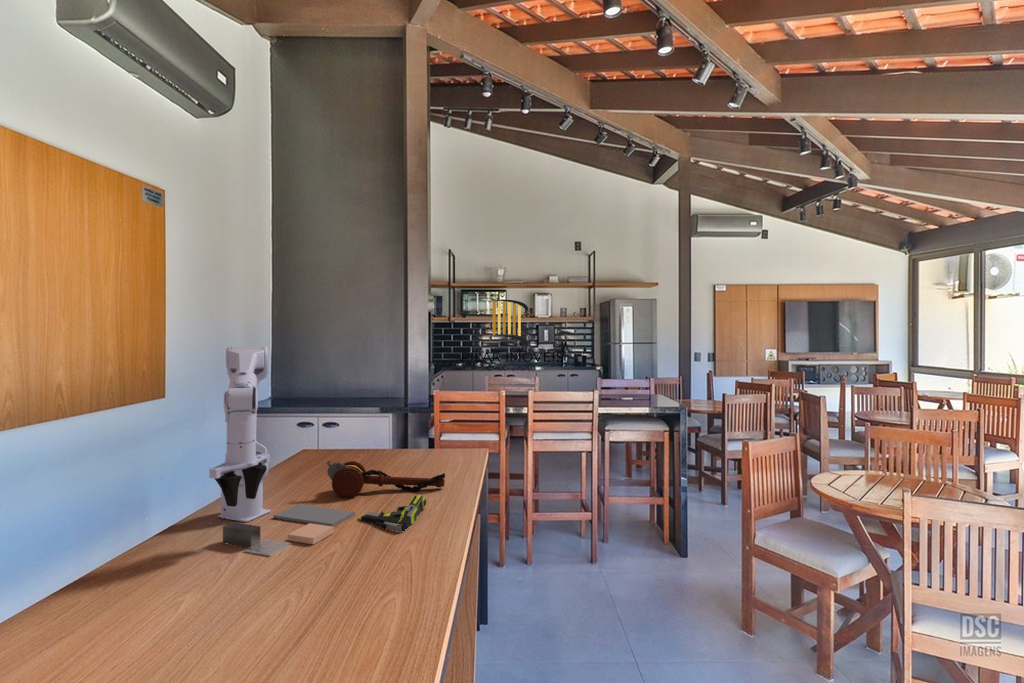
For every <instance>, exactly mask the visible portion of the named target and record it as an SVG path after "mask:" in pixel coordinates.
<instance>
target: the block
mask: <svg viewBox="0 0 1024 683" xmlns="http://www.w3.org/2000/svg"><path fill="white" fill-rule="evenodd" d="M334 533H335V526H334V527H332V526H325V525H318V524H311V523H309V524H307V523H306V524H305V525H303V526H301V527H300V528H297V529H295V530H294V531H291V532H290V533H288V534H287V541H288V542H289V541H290V542H294V543H295V542H296V543H302V544H308V545H315V544H317V543H318V542H320V541H322V540H324V539H325V538H327V537H330V536H331V535H333V534H334Z"/></svg>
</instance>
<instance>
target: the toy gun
mask: <svg viewBox="0 0 1024 683" xmlns="http://www.w3.org/2000/svg"><path fill="white" fill-rule="evenodd" d="M426 498H427V497H426V496H423V495H420V494H418V495H413V496H412V498H411V499H410V501H409V502H408V504H407V505H405V506H398V507H396V510H395V511H391V512H384V511H381V512H380V513H378V512H375V511H374V512H372V511H368V512H366V513H364V514H360V515H359V516H358V520H360V521H362V522H367V523H371V524H374V525H376V526H381V527H382V528H381V527H380V528H381V529H383V528H384V529H383V530H387V529H390V530H393V531H398V532H402V531H405V529H407V528H408V527H409V526H410V527H411V526H412V525H411V524H413V523H414V522H415V523H416V522H417V520H418V518H419V516H420V513H421V512H422V510H423V509H425V507H426V506H427V499H426ZM415 523H414V524H415ZM414 524H413V525H414ZM410 527H409V528H410ZM386 528H387V529H386ZM409 528H408V529H409ZM390 530H389V531H390ZM393 531H392V532H393ZM405 532H406V531H405Z"/></svg>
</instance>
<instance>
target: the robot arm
mask: <svg viewBox="0 0 1024 683" xmlns="http://www.w3.org/2000/svg"><path fill="white" fill-rule="evenodd" d="M225 366H226V367H225V368H226V371H227V376H228V379H229V384H228V389H227V390H225V391H224V393H223V411H224V416H225V417H224V418H225V420H224V421H225V423H226V453H225V460H224V462H223V463H220V464H219V465H216V466H214V467H212V468H209V474H208V475H209V476H208V477H209V479H214V480H215V482H216V483H217V484H218V486H219V487H220V489H221V493H220V514H218V515H217V517H221V518H220V519H224V518H225V520H231V521H238V522H244V523H246V522H250V521H253V520H254V519H257V518H259V517H262V516H264V515H266V514H268V513H270V512H271V509H267V508H263V506H264V504H263V503H264V502H263V500H264V499H263V495H264V494H263V489H264V488H263V487H264V486H263V484H264V482H263V481H264V480H263V479H267V477H268V476H269V463H270V462H271V455H270V453H268V449H267V447H266V446H265V445H263V444H261V443H259V442H258V440H257V427H258V426H257V425H258V424H257V422H258V421H257V420H258V419H257V417H258V416H257V415H258V413H257V411H258V407H259V406H258V405H259V392H258V389H259V388H258V387H259V385H260V382H261V381H263V380H264V379H266V378H267V377H268V376H267V375H268V367H269V348H268V347H267V345H264V346H261V345H259V346H231V345H229V346H228V347H226V349H225Z"/></svg>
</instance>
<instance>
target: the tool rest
mask: <svg viewBox="0 0 1024 683" xmlns="http://www.w3.org/2000/svg"><path fill="white" fill-rule="evenodd" d="M355 515H356V511H353V510H347V509H339V508H333V507H332V508H331V507H323V506H316V505H311V504H310V505H307V504H303V503H298V504H296V505H293V506H291V507H288V508H286V509H285V510H282V511H280V512H278V513H275V514H273V518H272V519H274V518H277V519H276V520H280V519H283V520H282V521H287V520H291V521H290V522H294V521H297V522H296V523H300V522H303V523H302V524H307V523H308V524H309V523H311V524H318V525H325V526H332V527H334V528H335V527H336V526H337V525H339V524H341V523H342V522H345V521H346V520H348V519H350V518H352V517H353V516H355Z"/></svg>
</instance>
